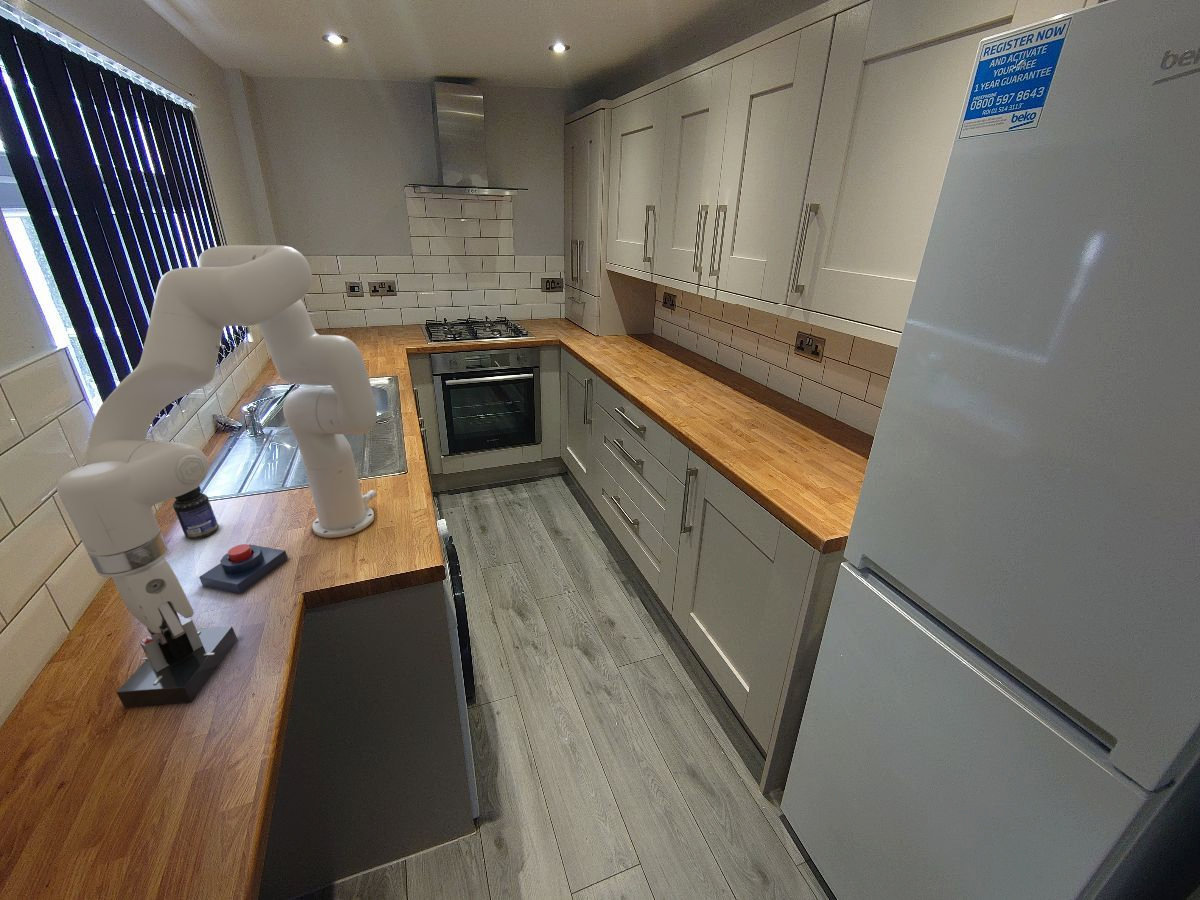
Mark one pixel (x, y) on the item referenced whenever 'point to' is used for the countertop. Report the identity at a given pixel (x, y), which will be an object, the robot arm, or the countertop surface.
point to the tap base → (179, 673)
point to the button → (240, 553)
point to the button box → (243, 570)
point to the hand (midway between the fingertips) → (177, 654)
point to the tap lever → (155, 652)
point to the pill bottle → (195, 514)
